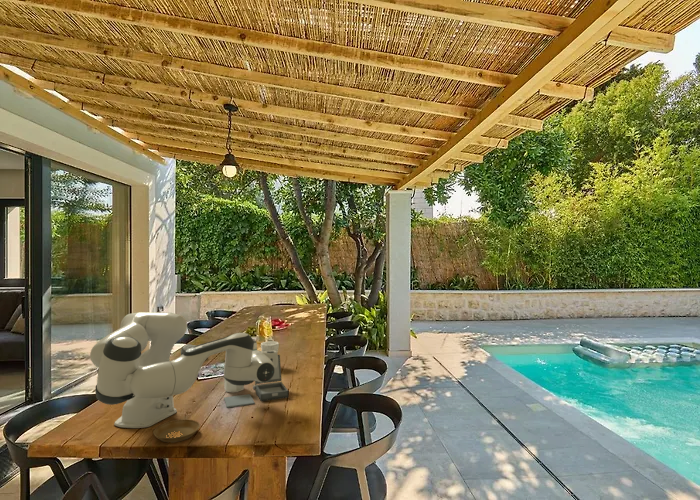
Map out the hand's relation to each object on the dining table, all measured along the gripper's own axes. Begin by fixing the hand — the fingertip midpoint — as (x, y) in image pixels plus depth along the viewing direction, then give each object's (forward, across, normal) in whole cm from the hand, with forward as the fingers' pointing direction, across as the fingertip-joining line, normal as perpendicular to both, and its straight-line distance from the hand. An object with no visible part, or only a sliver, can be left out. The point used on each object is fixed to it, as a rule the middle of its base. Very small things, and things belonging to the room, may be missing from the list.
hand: (249, 354), depth 177 cm
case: (+3, +10, -19) cm, 22 cm away
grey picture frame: (+8, +10, -10) cm, 16 cm away
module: (-1, 0, -7) cm, 7 cm away
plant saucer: (-25, -30, -19) cm, 43 cm away
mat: (-1, -5, -19) cm, 20 cm away
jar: (+15, -4, -19) cm, 24 cm away
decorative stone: (+80, -17, -19) cm, 84 cm away
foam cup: (+43, +20, -19) cm, 51 cm away
